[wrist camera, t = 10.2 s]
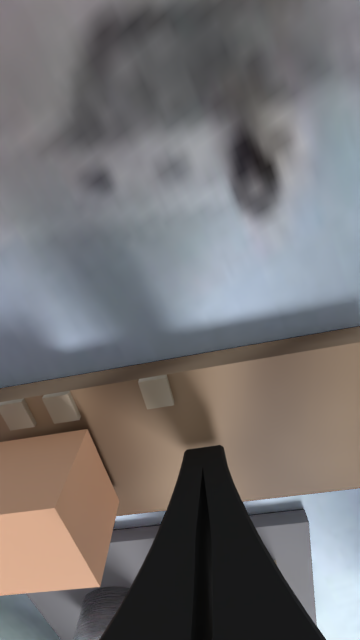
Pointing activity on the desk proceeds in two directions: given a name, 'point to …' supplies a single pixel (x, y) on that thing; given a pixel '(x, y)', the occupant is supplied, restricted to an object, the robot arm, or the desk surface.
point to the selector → (54, 513)
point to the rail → (211, 417)
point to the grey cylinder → (98, 611)
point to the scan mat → (134, 544)
